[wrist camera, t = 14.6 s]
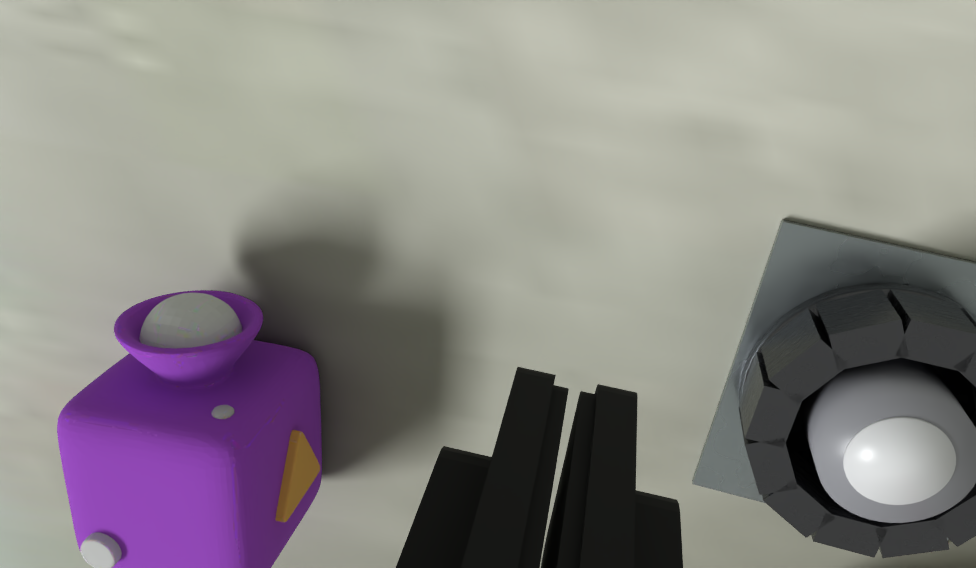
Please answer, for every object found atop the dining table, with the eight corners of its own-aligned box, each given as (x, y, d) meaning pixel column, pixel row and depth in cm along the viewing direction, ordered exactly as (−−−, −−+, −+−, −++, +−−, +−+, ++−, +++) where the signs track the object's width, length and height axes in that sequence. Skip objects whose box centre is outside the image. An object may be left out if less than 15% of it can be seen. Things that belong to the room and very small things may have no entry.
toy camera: (311, 255, 39) (204, 348, 30) (361, 485, 44) (283, 624, 35) (122, 265, 41) (-30, 353, 32) (190, 481, 46) (75, 610, 37)
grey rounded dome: (825, 332, 33) (847, 379, 30) (972, 364, 33) (1012, 418, 29) (782, 446, 36) (796, 503, 32) (917, 478, 35) (948, 541, 31)
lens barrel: (782, 219, 33) (797, 254, 29) (1079, 284, 32) (1137, 330, 28) (692, 480, 39) (695, 538, 35) (940, 545, 38) (972, 613, 34)
